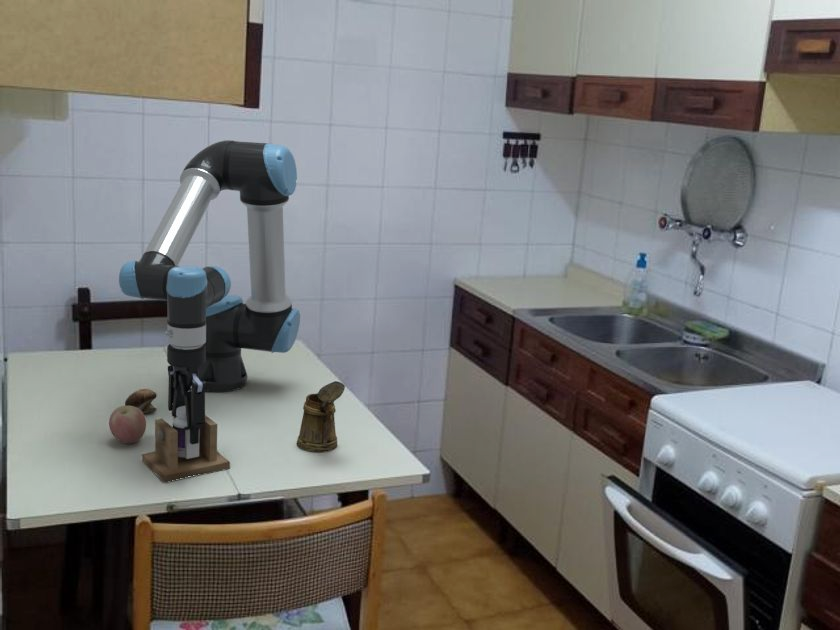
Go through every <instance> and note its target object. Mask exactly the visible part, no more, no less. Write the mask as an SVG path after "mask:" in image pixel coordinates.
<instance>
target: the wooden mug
mask: <svg viewBox="0 0 840 630" xmlns="http://www.w3.org/2000/svg"><path fill="white" fill-rule="evenodd" d="M345 387H346V385H345V384H344V383H342V382H340V381H336V380H335V381H332V382H330V383H328V384H326V385H324V386H322V387H321V388H320V389H319V391H318V392H317V393H310V394H307V396H306V397H305V401H304V403H303V408H302V409H303V414H302V419H301V422H300V423H301V424H300V429H299V435H298V436H297V441H296V446H297V447H298V448H299V449H301V450H303V451H306V452H311V453H324V452H329V451H333V450H335V449H336V448H337V446H338V436H337V433H336V422H335V413H336V412H337V411H336V406H335V401H337V400H339V399H340V397H341V396H342V395H343V394H344V392H345V389H346V388H345Z"/></svg>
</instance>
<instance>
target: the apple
mask: <svg viewBox="0 0 840 630" xmlns="http://www.w3.org/2000/svg"><path fill="white" fill-rule="evenodd" d="M144 414H145V413H143V412H142V411H141V410H140V409H139V408H137V407H134V406H125V405H122V406H119V407H116V408H115V409H114V410H113V411H112V412H111V415H110V416H109V420H108V425H109V430H110V433H111V434H112V436H113V437H114V438H115V439H116V440H117V441H119V442H120V443H123V444H129V445H130V444H133V443H136V442H138V441H140V440H141V439H142V437H143V436H144V434H145V432H146V429H147V419H146V416H145V415H144Z"/></svg>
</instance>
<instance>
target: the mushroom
mask: <svg viewBox="0 0 840 630" xmlns="http://www.w3.org/2000/svg"><path fill="white" fill-rule="evenodd" d="M155 399H157V393H156V392H155V391H154V390H152V389H149V388H141V389H138V390H136V391H134V392H133V393H131V394H130V395H129V396H128V397H127V398H126V400H125V402H124V406H134V407H137V408H139V409H140V410H141V411H142V413H143V414H147V413H151V412H155V411H156V410H157V408H156V407H155V406H154V405H153V404H152V402H153V401H154V400H155Z"/></svg>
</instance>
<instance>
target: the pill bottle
mask: <svg viewBox="0 0 840 630" xmlns="http://www.w3.org/2000/svg"><path fill="white" fill-rule="evenodd" d="M176 416H177V417H176V418H175V419H174V420H173V419H172V427H173V428H174V429H175V430H177V431H178V457H185V429H184V427H187V417H186V408H185V406H181V407H178V408H177V409H176ZM199 436H200V428H199Z"/></svg>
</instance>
